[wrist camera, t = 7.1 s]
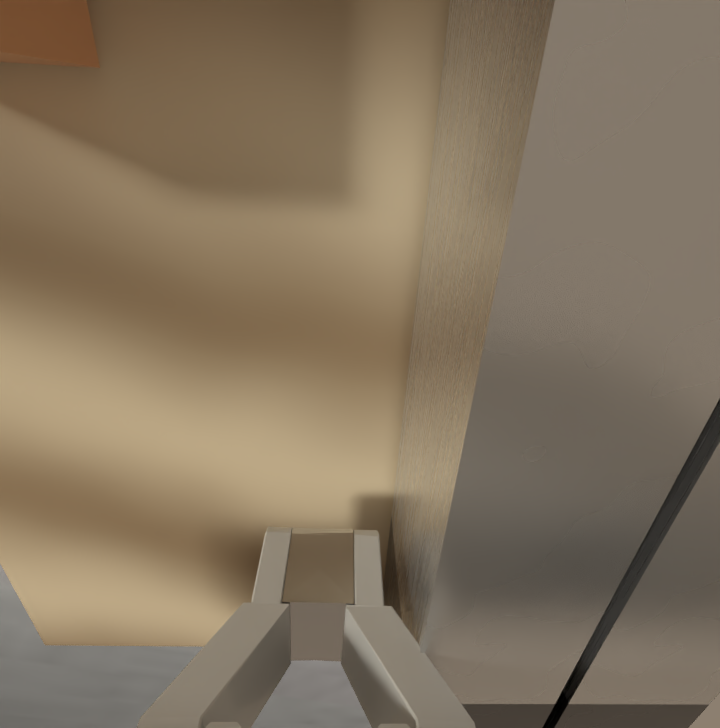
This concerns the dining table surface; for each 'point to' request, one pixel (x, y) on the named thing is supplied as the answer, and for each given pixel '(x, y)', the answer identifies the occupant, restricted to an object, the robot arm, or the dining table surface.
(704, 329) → the tongs arm
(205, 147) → the maple board
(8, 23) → the orange block
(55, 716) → the dining table surface
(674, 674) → the arm
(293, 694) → the dining table surface
